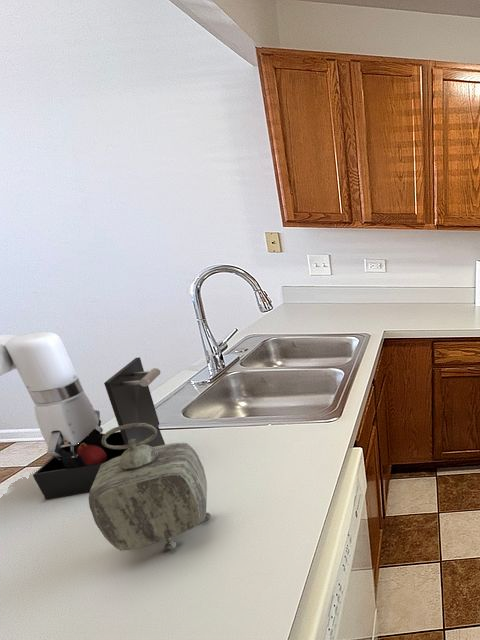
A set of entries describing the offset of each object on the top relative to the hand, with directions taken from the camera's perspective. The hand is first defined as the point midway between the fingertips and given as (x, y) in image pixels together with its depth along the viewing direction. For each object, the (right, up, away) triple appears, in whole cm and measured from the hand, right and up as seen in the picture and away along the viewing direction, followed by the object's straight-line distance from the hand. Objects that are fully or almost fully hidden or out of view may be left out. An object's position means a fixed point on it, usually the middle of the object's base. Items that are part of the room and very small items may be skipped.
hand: (89, 459), depth 89 cm
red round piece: (0, -3, +1) cm, 4 cm away
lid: (+11, +12, -1) cm, 17 cm away
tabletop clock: (+31, -11, -16) cm, 37 cm away
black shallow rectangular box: (+3, -3, +2) cm, 5 cm away
